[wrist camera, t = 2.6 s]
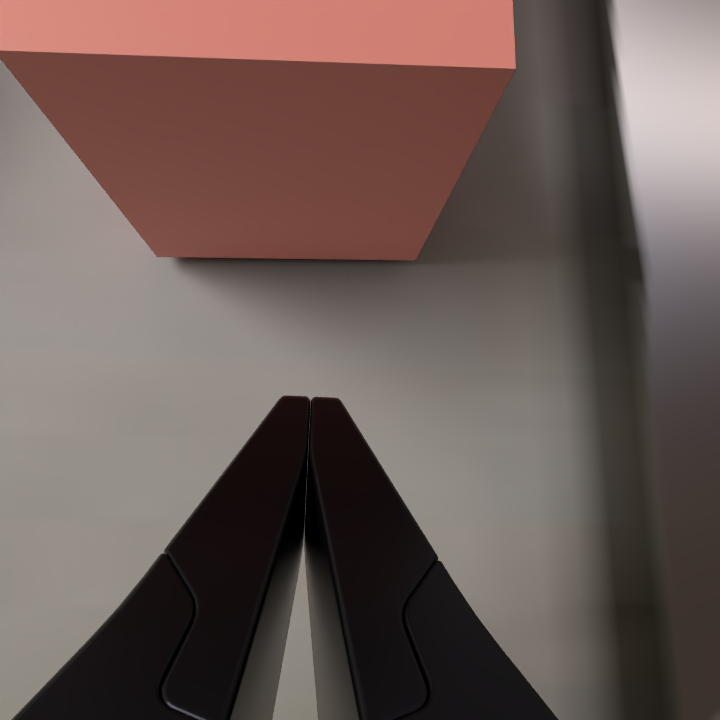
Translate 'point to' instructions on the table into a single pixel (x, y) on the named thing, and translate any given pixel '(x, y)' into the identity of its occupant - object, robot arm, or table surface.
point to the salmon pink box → (268, 114)
